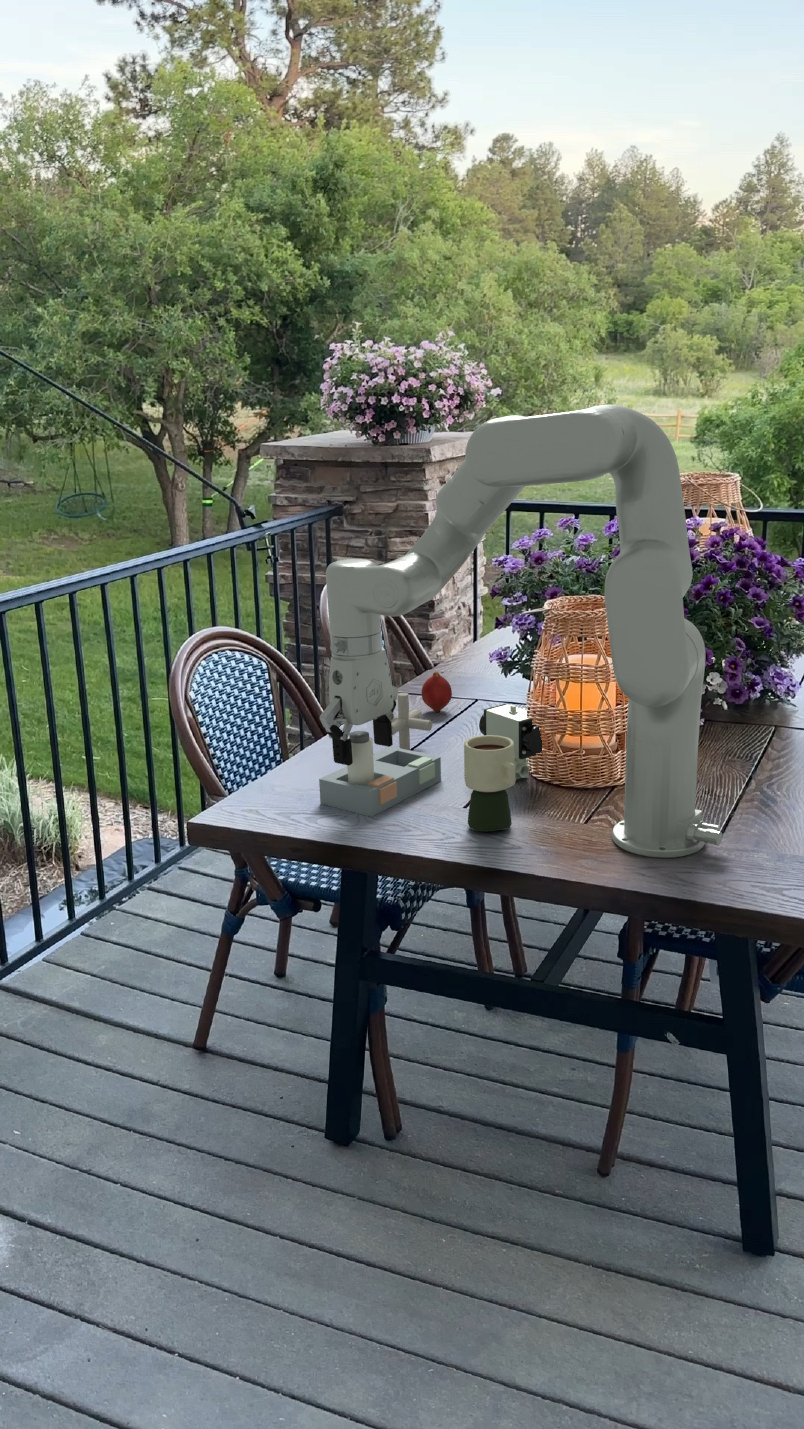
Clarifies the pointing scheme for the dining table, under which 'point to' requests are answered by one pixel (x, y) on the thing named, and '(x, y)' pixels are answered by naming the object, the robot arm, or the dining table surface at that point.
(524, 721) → the pneumatic valve
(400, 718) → the pipe connector
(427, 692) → the onion
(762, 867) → the dining table surface
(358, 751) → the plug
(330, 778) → the socket block
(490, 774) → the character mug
